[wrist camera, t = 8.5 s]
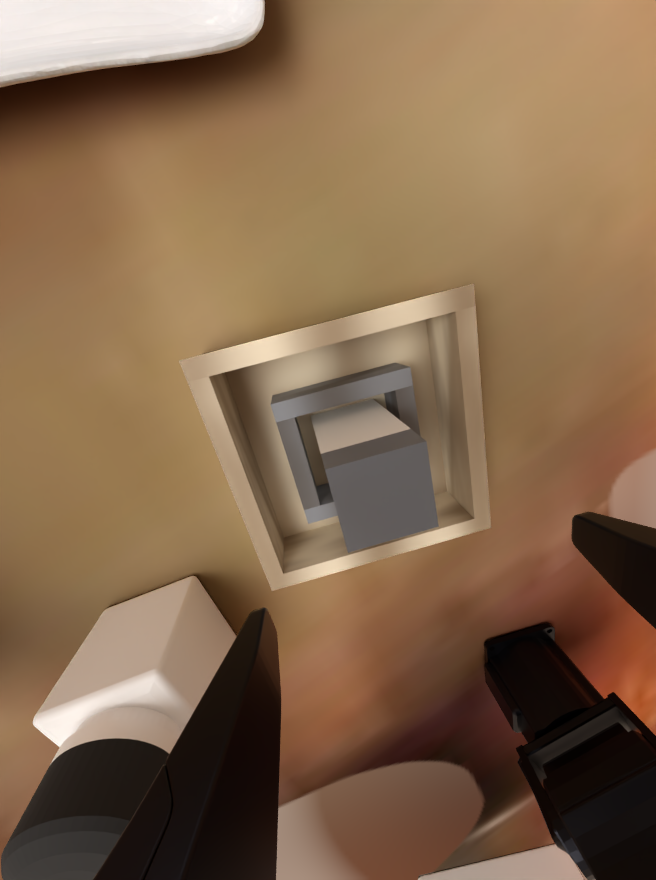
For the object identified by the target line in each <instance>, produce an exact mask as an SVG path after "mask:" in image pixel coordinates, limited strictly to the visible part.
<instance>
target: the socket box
mask: <svg viewBox="0 0 656 880" xmlns="http://www.w3.org/2000/svg"><path fill="white" fill-rule="evenodd" d="M179 362H180V365H181V367H182V370H183V372H184V375H185V377H186V380H187V382H188V385H189V387H190V390H191V392H192V395H193V397H194V399H195V402H196V404H197V407H198V409H199V412H200V414H201V417H202V419H203V422H204V424H205V427H206V429H207V432H208V434H209V437H210V439H211V441H212V444H213V446H214V449H215V451H216V454H217V456H218V459H219V461H220V464H221V466H222V469H223V471H224V474H225V476H226V479H227V481H228V484H229V486H230V488H231V491H232V493H233V496H234V498H235V501H236V503H237V506H238V508H239V511H240V513H241V516H242V518H243V521H244V523H245V526H246V528H247V530H248V533H249V535H250V538H251V540H252V543H253V545H254V548H255V550H256V553H257V555H258V558H259V560H260V563H261V565H262V568H263V570H264V573H265V575H266V577H267V580H268V582H269V585H270V587H271V590H272V591H274V590H278V589H281V588H284V587H288V586H291V585H295V584H298V583H302V582H305V581H309V580H312V579H316V578H319V577H322V576H326V575H329V574H333V573H336V572H340V571H343V570H347V569H350V568H354V567H357V566H360V565H364V564H367V563H371V562H374V561H378V560H381V559H385V558H388V557H392V556H395V555H398V554H402V553H405V552H409V551H412V550H416V549H419V548H423V547H426V546H430V545H433V544H436V543H440V542H443V541H447V540H450V539H454V538H457V537H461V536H464V535H468V534H471V533H474V532H478V531H481V530H485V529H488V528H491V519H490V505H489V490H488V476H487V462H486V447H485V433H484V419H483V405H482V390H481V376H480V362H479V347H478V333H477V319H476V305H475V290H474V283H473V284H470V285H466V286H462V287H458V288H454V289H450V290H446V291H442V292H439V293H435V294H431V295H427V296H423V297H419V298H416V299H412V300H408V301H404V302H400V303H397V304H393V305H389V306H385V307H381V308H377V309H374V310H370V311H366V312H362V313H358V314H355V315H351V316H347V317H343V318H339V319H335V320H332V321H328V322H324V323H320V324H316V325H312V326H309V327H305V328H301V329H297V330H293V331H290V332H286V333H282V334H278V335H274V336H270V337H267V338H263V339H259V340H255V341H251V342H247V343H244V344H240V345H236V346H232V347H228V348H225V349H221V350H217V351H213V352H209V353H205V354H202V355H198V356H194V357H190V358H187V359H183V360H179ZM370 399H374V400H375V401H376V402H378V403H379V404H380V405H381V406H383V407H384V408H385V409H386V410H388V411H389V412H390V413H391V414H393V415H394V416H395V417H397V418H398V419H399V420H400V421H402V422H403V423H404V424H405V425H407V426H408V427H409V428H410V429H412V430H413V431H414V432H416V433H417V434H418V435H419V436H421V437H422V438H423V439H424V440H426V441H427V448H428V455H429V462H430V469H431V476H432V483H433V490H434V497H435V504H436V511H437V518H438V525H439V527H436V528H432V529H429V530H425V531H422V532H418V533H415V534H411V535H408V536H405V537H401V538H398V539H394V540H391V541H387V542H384V543H380V544H377V545H373V546H370V547H367V548H363V549H360V550H356V551H353V552H349V553H348V551H347V547H346V544H345V540H344V536H343V533H342V529H341V526H340V522H339V518H338V515H337V511H336V508H335V504H334V500H333V497H332V493H331V490H330V486H329V482H328V479H327V475H326V472H325V468H324V464H323V461H322V457H321V453H320V449H319V446H318V442H317V438H316V435H315V431H314V427H313V424H312V420H311V415H315V414H318V413H322V412H326V411H329V410H333V409H337V408H340V407H344V406H348V405H351V404H355V403H359V402H362V401H366V400H370Z"/></svg>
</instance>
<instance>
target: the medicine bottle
mask: <svg viewBox="0 0 656 880" xmlns="http://www.w3.org/2000/svg"><path fill="white" fill-rule="evenodd" d="M236 637H237V636H236V635H235V633H234V632H233V630H232V629H231V627H230V626H229V624H228V623H227V621H226V620H225V618H224V617H223V615H222V614H221V612H220V611H219V610H218V608H217V607H216V605H215V604H214V602H213V601H212V599H211V598H210V596H209V595H208V593H207V592H206V590H205V589H204V587H203V586H202V584H201V583H200V581H199V580H198V578H197V577H196V576H190V577H187V578H185V579H182V580H179V581H177V582H174V583H172V584H169V585H166V586H164V587H161V588H159V589H156V590H153V591H151V592H148V593H146V594H143V595H141V596H138V597H135V598H133V599H130V600H128V601H125V602H122V603H120V604H117V605H115V606H112V607H109V608H107V609H106V610H104V611H103V613H102V614H101V616H100V617H99V619H98V620H97V622H96V624H95V625H94V627H93V628H92V630H91V631H90V633H89V634H88V636H87V637H86V639H85V640H84V642H83V643H82V645H81V646H80V648H79V649H78V651H77V652H76V654H75V655H74V657H73V658H72V660H71V662H70V663H69V665H68V666H67V668H66V669H65V671H64V672H63V674H62V675H61V677H60V678H59V680H58V681H57V683H56V684H55V686H54V687H53V689H52V690H51V692H50V693H49V695H48V697H47V698H46V700H45V701H44V703H43V704H42V706H41V707H40V709H39V710H38V712H37V713H36V715H35V717H34V719H33V724H34V726H35V727H36V728H37V729H38V730H40V731H41V732H42V733H43V734H44V735H45V736H47V737H48V738H49V739H50V740H51V741H53V742H54V743H55V744H56V745H57V746H59V747H60V748H59V750H58V752H57V753H56V755H55V757H54V759H53V761H52V763H51V764H50V766H49V768H48V770H47V772H46V774H45V775H44V777H43V779H42V781H41V783H40V784H39V786H38V788H37V790H36V792H35V794H34V795H33V797H32V799H31V801H30V803H29V805H28V806H27V808H26V810H25V812H24V814H23V816H22V817H21V819H20V821H19V823H18V825H17V826H16V828H15V830H14V832H13V834H12V836H11V837H10V839H9V841H8V843H7V845H6V847H5V848H4V851H3V853H2V857H1V873H2V878H3V880H93V879H94V877H95V876H96V874H97V873H98V871H99V870H100V868H101V866H102V865H103V863H104V862H105V860H106V859H107V857H108V855H109V854H110V852H111V851H112V849H113V848H114V846H115V844H116V843H117V841H118V840H119V838H120V836H121V835H122V833H123V832H124V830H125V829H126V827H127V825H128V824H129V822H130V820H131V819H132V817H133V815H134V814H135V812H136V810H137V809H138V807H139V805H140V804H141V802H142V800H143V799H144V797H145V795H146V794H147V792H148V790H149V789H150V787H151V785H152V783H153V782H154V780H155V778H156V776H157V775H158V773H159V771H160V769H161V768H162V766H163V765H166V759H167V757H168V756H169V754H170V752H171V750H172V749H173V747H174V745H175V743H176V742H177V740H178V738H179V736H180V735H181V733H182V731H183V729H184V728H185V726H186V724H187V722H188V721H189V719H190V717H191V715H192V714H193V712H194V710H195V708H196V707H197V705H198V703H199V701H200V700H201V698H202V696H203V694H204V693H205V691H206V689H207V688H208V686H209V684H210V682H211V681H212V679H213V677H214V675H215V674H216V672H217V670H218V668H219V667H220V665H221V663H222V661H223V660H224V658H225V656H226V654H227V653H228V651H229V649H230V647H231V646H232V644H233V642H234V640H235V639H236Z"/></svg>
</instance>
